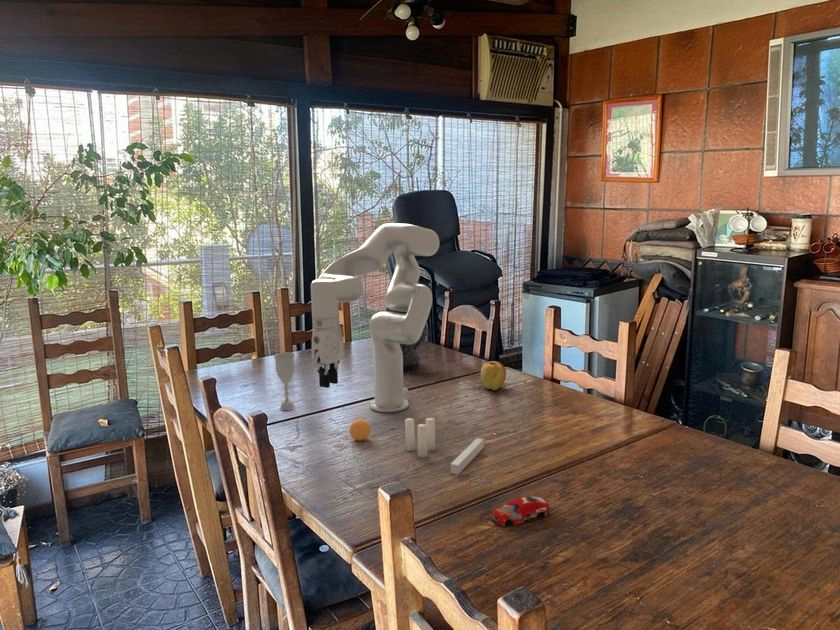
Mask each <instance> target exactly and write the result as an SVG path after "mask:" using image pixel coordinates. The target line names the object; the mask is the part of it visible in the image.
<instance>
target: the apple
mask: <svg viewBox="0 0 840 630" xmlns="http://www.w3.org/2000/svg"><path fill="white" fill-rule="evenodd" d="M506 377H507V371H506V368H505V365H504V364H502V363H501V362H499V361H495V360H493V361H492V360H491V361H487V362H486V363H484V364H483V365H482V366H481V369H480V380H481V382H482V385H483V387H485V389H487V390H490V389H492V390H491V391H497V390H499V389H500V388H501V387H502V386H503V385H504V383H505V381H506Z"/></svg>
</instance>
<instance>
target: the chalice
mask: <svg viewBox="0 0 840 630" xmlns="http://www.w3.org/2000/svg"><path fill="white" fill-rule="evenodd" d="M295 356H296V353H294V352H289V351H287V352H286V351H285V352H279V353H275V354H274V355H273V358H274V362H275V371H276V374H277V377H278V378H279V380H280V383H282V384H284V388H283V390H284V393H283V395H284V398H285V399H284V400H283V401H282V402H281V403H280V404H281V405H280V407H279V410H280V409H281V410H280V411H282V410H289V411H292V409H293V410H294V409H296V406H295V405H294V401H292V400H290V399H289V395H290V393H289V390H290V388H289V387H288V384H289V383H290V382H291V380H292V378H293V375H294V371H295V361H294V359H295Z"/></svg>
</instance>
